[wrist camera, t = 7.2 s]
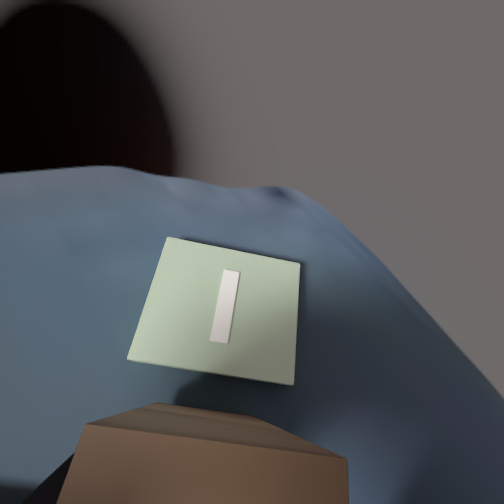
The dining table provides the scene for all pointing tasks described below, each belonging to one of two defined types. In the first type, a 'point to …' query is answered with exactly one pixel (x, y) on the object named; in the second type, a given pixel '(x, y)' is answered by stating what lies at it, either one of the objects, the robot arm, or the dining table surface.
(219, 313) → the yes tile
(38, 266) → the dining table surface
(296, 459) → the walnut block
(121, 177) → the dining table surface
